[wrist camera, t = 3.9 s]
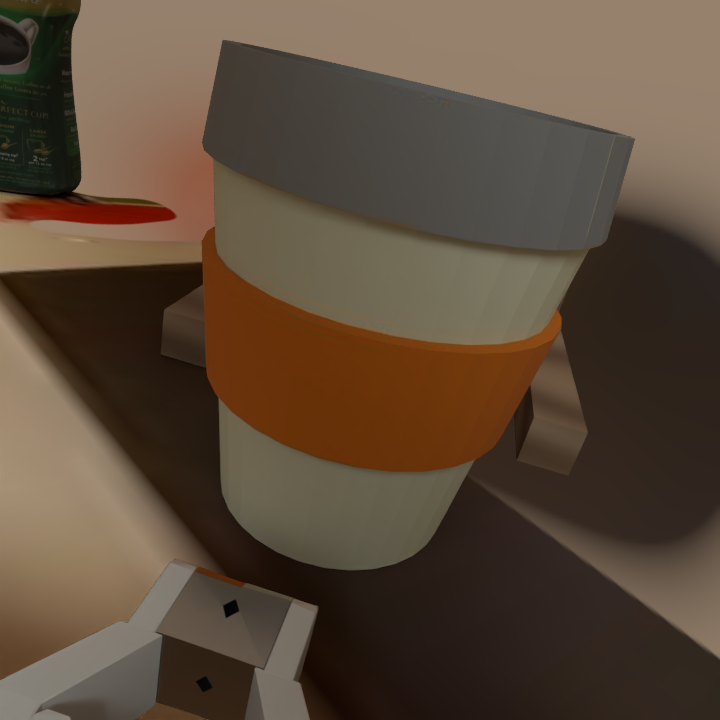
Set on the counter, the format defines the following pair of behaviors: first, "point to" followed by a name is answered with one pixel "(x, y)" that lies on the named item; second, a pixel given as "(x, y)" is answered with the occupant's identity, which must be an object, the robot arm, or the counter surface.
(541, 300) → the reusable coffee cup
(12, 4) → the coffee jar
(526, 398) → the walnut bay
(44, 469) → the counter surface
